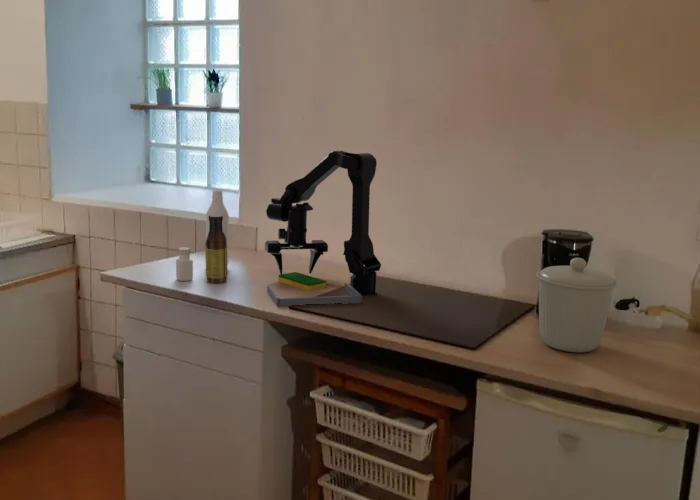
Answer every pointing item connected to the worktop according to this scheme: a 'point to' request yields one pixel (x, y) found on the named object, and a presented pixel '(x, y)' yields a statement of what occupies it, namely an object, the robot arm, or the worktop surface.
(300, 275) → the dish sponge
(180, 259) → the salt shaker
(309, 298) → the box
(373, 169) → the robot arm
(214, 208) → the water bottle
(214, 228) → the sauce bottle
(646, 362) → the worktop surface
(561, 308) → the canister
